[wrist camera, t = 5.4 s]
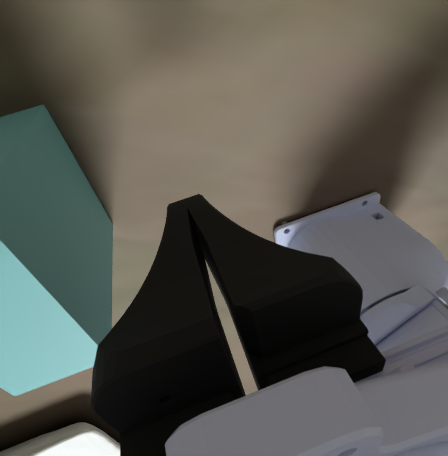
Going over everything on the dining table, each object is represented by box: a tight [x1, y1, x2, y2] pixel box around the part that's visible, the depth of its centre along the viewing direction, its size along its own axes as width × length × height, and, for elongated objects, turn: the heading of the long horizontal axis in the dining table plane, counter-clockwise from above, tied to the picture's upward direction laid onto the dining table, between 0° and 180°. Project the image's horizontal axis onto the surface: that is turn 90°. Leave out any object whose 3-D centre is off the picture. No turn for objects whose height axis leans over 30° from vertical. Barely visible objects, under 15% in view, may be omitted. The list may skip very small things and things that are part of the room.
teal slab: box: [0, 104, 113, 396], centre depth 14 cm, size 4×8×10 cm, turn 12°
